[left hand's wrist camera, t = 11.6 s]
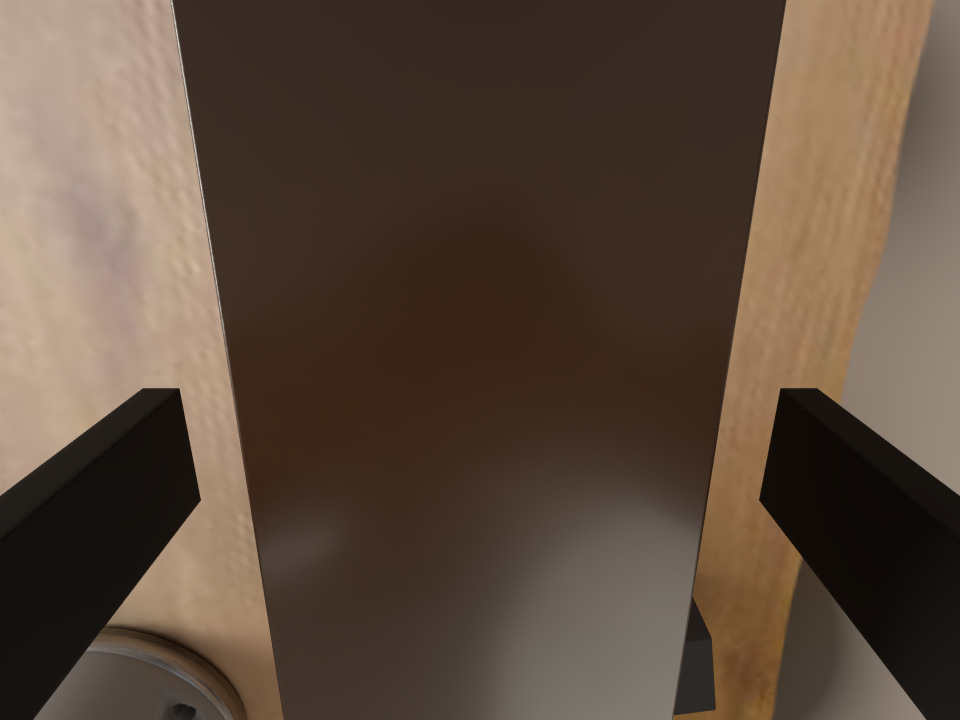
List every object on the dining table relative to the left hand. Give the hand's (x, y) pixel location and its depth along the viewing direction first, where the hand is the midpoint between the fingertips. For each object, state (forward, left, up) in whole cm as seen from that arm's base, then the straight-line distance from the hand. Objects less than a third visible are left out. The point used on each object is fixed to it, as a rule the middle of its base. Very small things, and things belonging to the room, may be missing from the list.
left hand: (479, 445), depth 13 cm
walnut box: (+8, +1, -3) cm, 9 cm away
